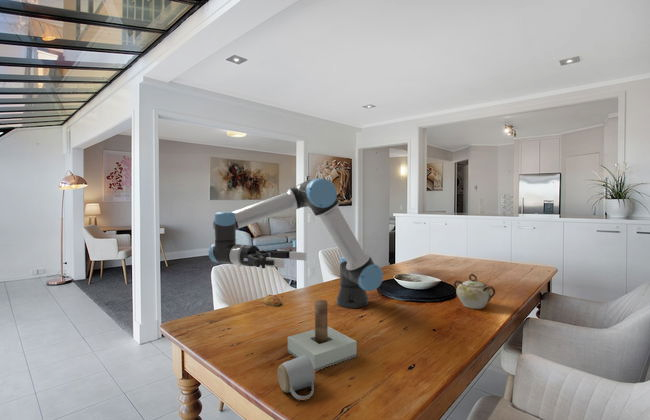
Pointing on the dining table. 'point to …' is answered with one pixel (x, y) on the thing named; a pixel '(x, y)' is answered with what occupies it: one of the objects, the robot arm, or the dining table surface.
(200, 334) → the dining table surface
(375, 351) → the dining table surface
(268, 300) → the tan rounded lump
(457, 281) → the sugar bowl
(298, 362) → the ceramic mug
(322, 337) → the dowel
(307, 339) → the socket block
